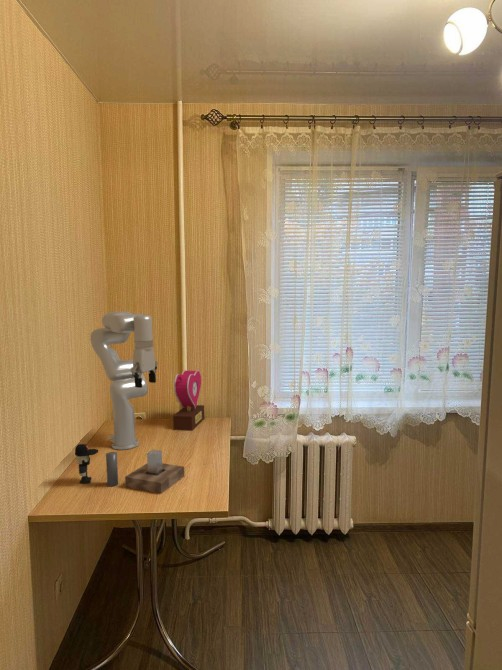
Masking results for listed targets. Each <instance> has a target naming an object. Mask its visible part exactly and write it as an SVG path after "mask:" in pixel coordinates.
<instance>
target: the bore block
mask: <svg viewBox="0 0 502 670" xmlns="http://www.w3.org/2000/svg"><path fill="white" fill-rule="evenodd" d="M162 469H163V472H162V473H161V474H159V475H158V476H156V475H150V474H148V464H147V463H145V464H144V465H142V466H140V467H138V468H137V469H135V470H134V471H132V472H130V473H129V474H127V475H125V476H124V480H125V483H124V484H125V488H131V489H136V490H140V491H141V490H142V491H145V492H151V493H156V494H161V495H162V494H163V493H164V492H166V491H167V490H168V489H170V488H171V487H172V486H174V485H175V484H176V483H178V482H179V481H181V480H182V479H183V478H184V477H185V466H181V465H176V464H170V463H163V462H162ZM181 478H182V479H181ZM177 481H178V482H177Z"/></svg>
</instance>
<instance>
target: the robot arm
mask: <svg viewBox="0 0 502 670" xmlns="http://www.w3.org/2000/svg"><path fill="white" fill-rule="evenodd" d="M101 324H102V325H103V327H101V328H100V327H99V328H96V329H94V330H93V331H92V332H91V333H90V343H91V348H92V349H93V351H94V352H95V354H96V356H97V357H98V358H99V359H100V362H101V365H102V367H103V369H104V371H105V375H106V377H107V379H109V381H111V382H112V383H111V384H110V386H109V394H110V397H111V404H112V415H113V416H112V417H113V418H112V419H113V434H110V435H109V437H108V440H109V441H112V443H111V448H112V449H114V450H119V451H122V450H123V451H124V450H130V449H134V448H136V447H138V446H139V445H140V440H138V439H137V438H136V423H135V420H136V419H135V408H134V406H133V404H132V403H131V402H130V400H131V399H136V398H140V397H144V396H146V395H147V394H148V391H149V384H148V383H151V384H155V383H156V382H157V378H156V373H157V369H158V364H159V362H158V361H156V356H155V350H154V341H153V340H154V338H153V319H152V316H151V315H149V314H148V315H147V314H144V313H132V312H131V311H128V310H124V311H123V310H121V311H110V312H109V311H108V312H107V313H105V314H104V315H103V316H102V319H101ZM131 333H133V336H134V337H133V339H134V342H133V343H134V349H133V354H132V359H121V358H120V355H119V353H118V351H116V350H115V349H114V348H112V347H111V345H117V344H118V345H119V344H124V343H126V342H127V341H129V340H128V339H129V338H130V335H131ZM109 345H110V346H109ZM144 373H148V381H147V379H146V377H145V375H144Z"/></svg>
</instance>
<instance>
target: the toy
mask: <svg viewBox="0 0 502 670" xmlns="http://www.w3.org/2000/svg"><path fill="white" fill-rule="evenodd" d="M74 449H75V450H74V455H75V456H76V461H77V462H76V463H77V465H78V474H79V476H80V477H81V478H80V479H79V483H80V484H89V483H91V481H92V476H88V470H89V467H88V466H89V465H90V463H91V456H94V455H96V454H98V453H99V449H97V448H89V446H88V445H87V444H86V443H80V444H77V445H76V446H75V448H74Z"/></svg>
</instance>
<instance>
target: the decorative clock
mask: <svg viewBox="0 0 502 670" xmlns="http://www.w3.org/2000/svg"><path fill="white" fill-rule="evenodd" d="M201 387H202V376H201V372H200V370H198V369H197V370H187V369H185V370H183V371H182V373H181V374H180V373H177V374H176V375H175V378H174V385H173V391H174V394H175V398H176V399H177V401H178V403H179V404H180V406H181V409H180V410H179V411H177V412H175V414H173V415H172V417H173V418H172V423H173V429H172V430H173V431H174V430H175V431H189V432H190V431H194V429H195V428H197V427H198V426H199V425H200V424H201V423H202V422H203V421H204V420H205V419H206V418H205V405H204V404H202V405H201V404H199V405H198V402H199V401H198V400H199V396H200V392H201Z"/></svg>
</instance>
